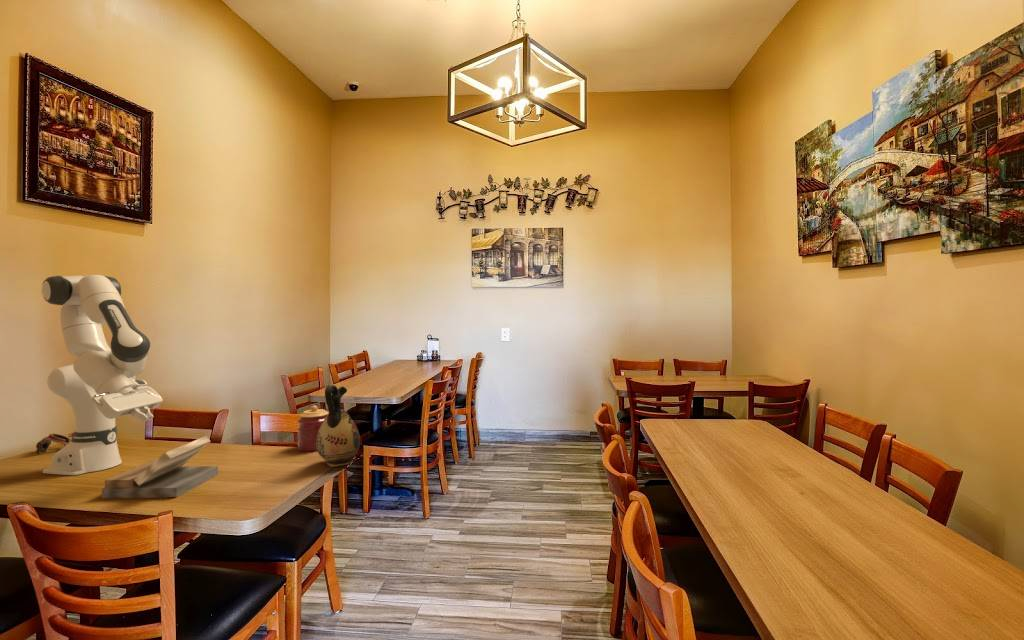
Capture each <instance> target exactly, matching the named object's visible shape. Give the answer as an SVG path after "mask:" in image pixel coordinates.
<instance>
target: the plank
mask: <svg viewBox="0 0 1024 640" xmlns="http://www.w3.org/2000/svg"><path fill="white" fill-rule="evenodd" d="M209 443H211V440H210V438H209V437H208V436H207V435H204V436H202V437H200V438H197V439H195V440H193V441H190V442H187V443H185V444H182V445H180V446H178V447H174V448H173V449H169V450H168V451H166V452H164V453H163V454H162V455H161V456H160V457H158V458H157V459H156V461H155V462H154V463H153V464H151V465H150V466H149V467H148V468H147V469H146V470H144V471H143V472H142V473H141V474H140V475H139V476H138V477H136V478H135V479H134V481H135V482H136V483H137V484H138V485H139V486H140V485H142V484H144V483H146V482H148V481H150V480H153V479H155V478H157V477H159V476H161V475H163V474H165V473H168V472H170V471H172V470H174V469H176V468H178V467H184V465H185V464H186V463H187V462H189V461H190V460H191V459H192V458H193V457H194V456H196V455H197V454H198V453H199V452H200V451H201V450H202V449H203V448H205V447H206V446H207V445H209Z"/></svg>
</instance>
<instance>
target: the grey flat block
mask: <svg viewBox="0 0 1024 640" xmlns="http://www.w3.org/2000/svg"><path fill="white" fill-rule="evenodd" d="M156 460H157V459H156ZM156 460H155V459H153V460H150V461H147V462H144V463H143V464H141V465H137V466H135V467H133V468H131V469H128V470H125V471H124V472H120V473H118V474H115V475H114V476H112V477H109V478H106V479H104V487H103V488H101V499H150V498H151V499H153V498H155V499H156V498H157V499H159V498H160V499H161V498H162V499H163V498H164V499H165V498H167V497H175V498H179V497H180V496H182V495H184V494H186V493H188V492H189V491H191V490H192V488H193V489H195V488H196V487H198V486H200V485H201V483H202V484H204V483H206V482H207V481H209V480H211V479H213V478H215V477H216V476H218V475H219V466H218V465H212V466H211V465H202V466H198V465H197V466H191V465H189V466H188V465H187V466H180V467H178V468H176V469H174V470H172V471H170V472H168V473H165V474H163V475H161V476H159V477H157V478H155V479H153V480H150V481H148V482H146V483H144V484H142V485H140V486H139V485H138V484H137V483H136V482H135V481H134V479H135V478H136V477H138V476H139V475H140V474H141V473H142V472H143V471H144V470H146V469H147V468H148V467H149V466H150V465H151V464H153V463H154V462H155V461H156ZM217 474H218V475H217ZM215 475H216V476H215ZM212 477H213V478H212ZM210 478H211V479H210ZM208 479H209V480H208ZM203 482H204V483H203ZM194 487H195V488H194ZM185 492H186V493H185Z"/></svg>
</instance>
